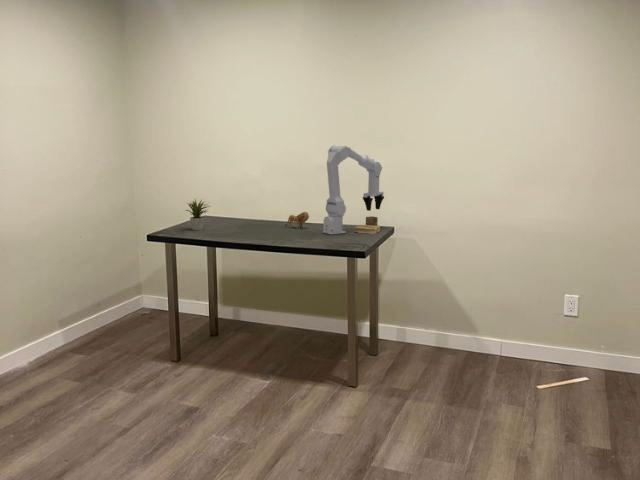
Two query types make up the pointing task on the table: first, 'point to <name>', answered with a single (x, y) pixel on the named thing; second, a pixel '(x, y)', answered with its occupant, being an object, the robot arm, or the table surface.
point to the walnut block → (371, 221)
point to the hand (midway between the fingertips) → (373, 209)
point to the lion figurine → (298, 219)
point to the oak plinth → (367, 229)
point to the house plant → (197, 215)
